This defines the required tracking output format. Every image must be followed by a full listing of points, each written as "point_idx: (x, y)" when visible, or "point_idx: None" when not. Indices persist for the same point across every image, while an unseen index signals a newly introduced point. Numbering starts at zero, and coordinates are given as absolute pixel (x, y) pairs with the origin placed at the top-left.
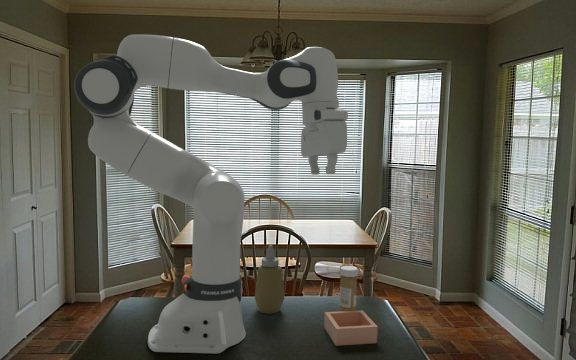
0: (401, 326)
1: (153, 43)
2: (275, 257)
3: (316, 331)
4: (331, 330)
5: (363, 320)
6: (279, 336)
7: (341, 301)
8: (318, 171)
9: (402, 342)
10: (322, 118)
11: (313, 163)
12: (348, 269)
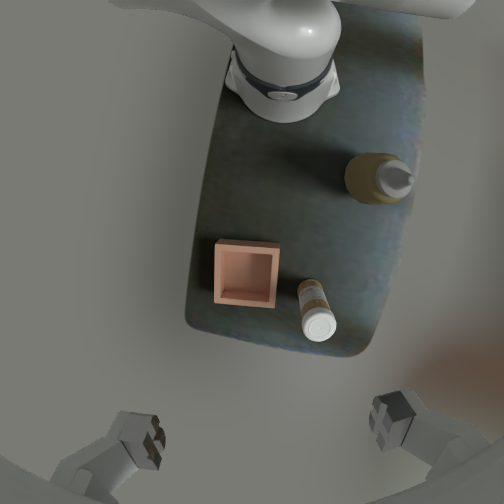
0: (260, 343)
1: None
2: (405, 194)
3: (269, 227)
4: (240, 242)
5: (254, 297)
6: (263, 168)
7: (309, 289)
8: (377, 429)
9: (216, 323)
10: None
11: (432, 443)
12: (309, 323)
